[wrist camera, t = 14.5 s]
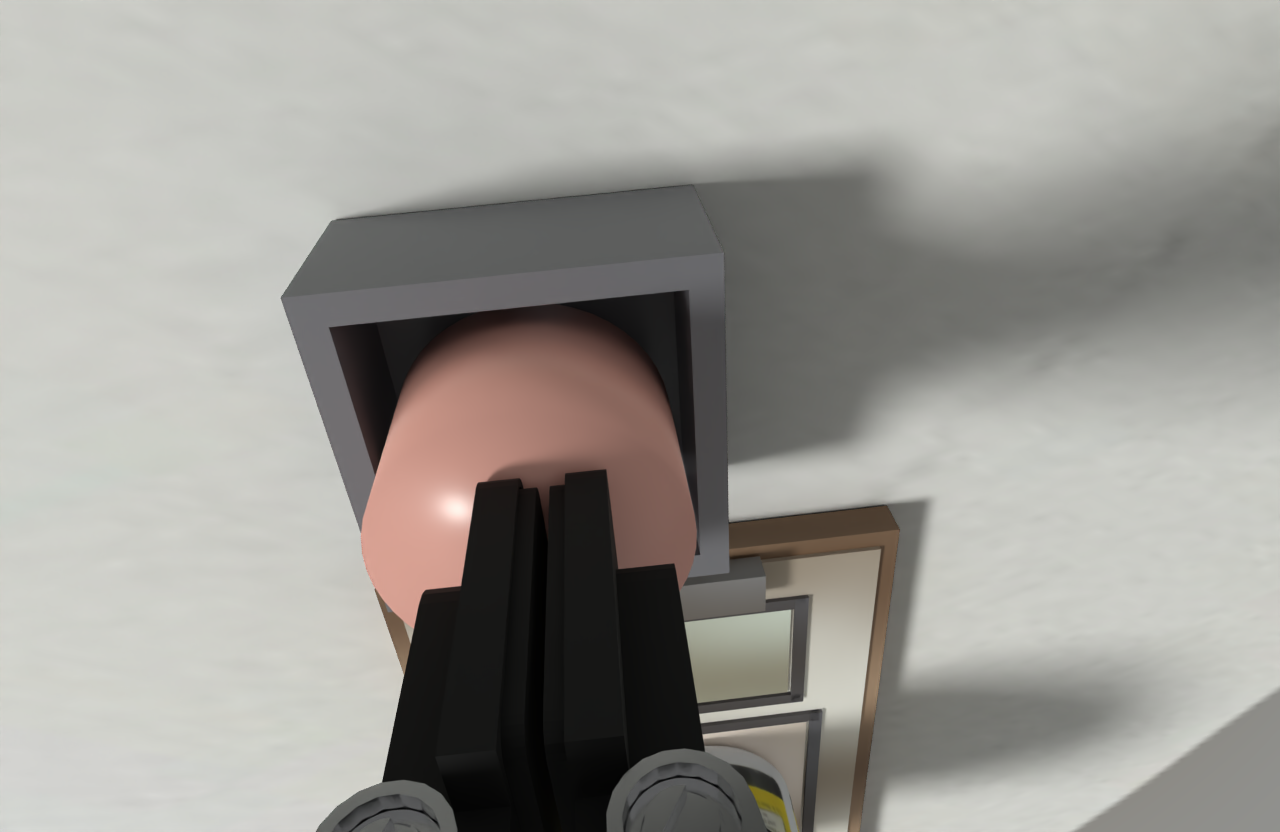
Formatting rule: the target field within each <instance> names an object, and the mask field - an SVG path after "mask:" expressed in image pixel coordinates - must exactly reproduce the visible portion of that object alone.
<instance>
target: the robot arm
mask: <svg viewBox="0 0 1280 832" xmlns="http://www.w3.org/2000/svg"><path fill="white" fill-rule="evenodd" d="M316 832H771V831H770V830H769V829H767V828H766V826H765V823H764V820H763V818H762V815H761V812H760V810H759V807H758V804H757V802H756V799H755V797H754V795H753V793H752V791H751V790H750V788H749V786H748V784H747V783H746V781H745V779H744V777H743V776H742V775H740V774H739V773H738V772H737V771H736V770H735V769H734V768H733V767H732V766H731V765H730V764H729V763H728V762H726V761H724V760H722V759H720V758H718V757H716V756H714V755H712V754H709V753H707V752H705V747H704V741H703V734H702V728H701V722H700V716H699V710H698V703H697V697H696V691H695V685H694V678H693V672H692V666H691V660H690V654H689V647H688V641H687V635H686V629H685V623H684V616H683V610H682V604H681V598H680V591H679V585H678V579H677V573H676V568H675V564H674V563H672V564H662V565H653V566H644V567H634V568H625V569H618V562H617V554H616V545H615V537H614V528H613V520H612V511H611V503H610V494H609V486H608V477H607V470H606V469H602V470H593V471H583V472H573V473H565V485H555V486H550V489H549V520H548V540H547V534H546V529H545V523H544V518H543V512H542V506H541V501H540V495H539V491H538V488H537V487H536V488H526V489H524V488H523V484H522V481H521V479H520V478H515V479H506V480H496V481H486V482H478V483H477V486H476V490H475V497H474V503H473V510H472V517H471V523H470V530H469V536H468V543H467V549H466V556H465V563H464V569H463V576H462V582H461V586H456V587H447V588H437V589H428V590H425V591H424V592H423V594H422V596H421V599H420V602H419V606H418V611H417V616H416V621H415V626H414V630H413V635H412V640H411V645H410V650H409V655H408V659H407V664H406V669H405V674H404V679H403V684H402V688H401V693H400V698H399V703H398V708H397V713H396V718H395V722H394V727H393V732H392V737H391V742H390V747H389V751H388V756H387V761H386V766H385V771H384V776H383V780H382V783H379V784H377V785H374V786H371V787H369V788H366V789H364V790H361V791H359V792H357V793H356V794H354V795H353V796H351V797H350V798H348V799H347V800H346V801H344V802H343V803H341V804H340V805H338V806H337V807H336V808H335V809H334V810H333V811H332V812H331V813H330V815H329V816H328V817H327V818H326V819H325V820H324V821H323V822H322V823H321V824H320V825H319V827H318V829H317V830H316Z"/></svg>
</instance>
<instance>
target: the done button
mask: <svg viewBox="0 0 1280 832" xmlns="http://www.w3.org/2000/svg"><path fill="white" fill-rule="evenodd" d="M602 469H606V470H607V477H608V486H609V494H610V503H611V511H612V520H613V528H614V537H615V545H616V554H617V562H618V569H625V568H634V567H644V566H653V565H662V564H672V563H674V564H675V568H676V573H677V579H678V585H679V591H680V590H681V588H682V587H683V585H684V583H685V581H686V580H687V577H688V575H689V572H690V570H691V567H692V564H693V561H694V556H695V551H696V540H697V529H696V521H695V514H694V510H693V505H692V501H691V496H690V492H689V488H688V483H687V479H686V474H685V470H684V465H683V461H682V456H681V452H680V447H679V443H678V438H677V434H676V429H675V425H674V420H673V416H672V411H671V407H670V402H669V398H668V394H667V391H666V388H665V384H664V381H663V379H662V377H661V375H660V373H659V371H658V369H657V367H656V366H655V364H654V363H653V361H652V360H651V358H650V357H649V355H648V354H647V353H646V352H645V351H644V350H643V348H642V347H641V346H640V345H639V344H638V343H637V342H636V341H635V340H634V339H632V338H631V337H630V336H629V335H628V334H626V333H625V332H624V331H623V330H621V329H620V328H618V327H616V326H615V325H613V324H612V323H610V322H608V321H606V320H604V319H602V318H600V317H598V316H596V315H594V314H591V313H588V312H585V311H582V310H579V309H576V308H573V307H568V306H562V305H557V304H548V305H538V306H528V307H519V308H509V309H499V310H490V311H480V312H477V313H475V314H472V315H470V316H468V317H466V318H463V319H461V320H459V321H458V322H456V323H454V324H453V325H451V326H449V327H448V328H446V329H445V330H444V331H442V332H441V333H440V334H439V335H437V336H436V337H435V338H434V339H432V340H431V341H430V343H429V344H428V345H427V346H426V347H425V348H424V349H423V350H422V351H421V352H420V354H419V355H418V357H417V358H416V359H415V361H414V362H413V364H412V365H411V367H410V369H409V371H408V373H407V376H406V378H405V380H404V383H403V386H402V389H401V393H400V396H399V399H398V403H397V406H396V409H395V413H394V416H393V419H392V423H391V426H390V429H389V433H388V436H387V439H386V443H385V446H384V449H383V453H382V456H381V459H380V463H379V466H378V469H377V473H376V476H375V479H374V483H373V486H372V489H371V493H370V496H369V499H368V503H367V506H366V510H365V513H364V516H363V521H362V531H361V544H362V554H363V558H364V562H365V566H366V570H367V572H368V574H369V576H370V579H371V581H372V583H373V585H374V587H375V588H376V590H377V591H378V593H379V595H380V596H381V598H382V599H383V600H384V602H385V603H386V604H387V605H388V606H389V607H390V608H391V610H392V611H393V612H394V613H395V614H396V615H397V616H399V617H400V618H401V619H402V620H403V621H404V622H405V623H406V624H408V625H409V626H410V627H412V628H413V629H414V626H415V621H416V616H417V611H418V606H419V602H420V599H421V596H422V594H423V592H424V591H425V590H428V589H437V588H447V587H456V586H461V582H462V576H463V569H464V563H465V556H466V549H467V543H468V536H469V530H470V523H471V517H472V510H473V503H474V497H475V490H476V486H477V483H478V482H486V481H496V480H506V479H515V478H520V479H521V481H522V484H523V488H524V489H526V488H536V487H537V488H538V491H539V495H540V501H541V506H542V512H543V518H544V523H545V529H546V534H547V540H548V520H549V489H550V486H555V485H565V473H573V472H583V471H593V470H602Z"/></svg>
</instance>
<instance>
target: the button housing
mask: <svg viewBox="0 0 1280 832" xmlns="http://www.w3.org/2000/svg"><path fill="white" fill-rule="evenodd" d="M281 300H282V303H283V306H284V309H285V312H286V315H287V318H288V321H289V324H290V327H291V330H292V332H293V335H294V338H295V341H296V344H297V347H298V350H299V353H300V356H301V359H302V362H303V365H304V368H305V371H306V374H307V376H308V379H309V382H310V385H311V388H312V391H313V394H314V397H315V400H316V403H317V406H318V409H319V412H320V415H321V417H322V420H323V423H324V426H325V429H326V432H327V435H328V438H329V441H330V444H331V447H332V450H333V453H334V456H335V458H336V461H337V464H338V467H339V470H340V473H341V476H342V479H343V482H344V485H345V488H346V491H347V494H348V497H349V499H350V502H351V505H352V508H353V511H354V514H355V517H356V520H357V523H358V526H359V529H360V532H361V531H362V521H363V516H364V513H365V510H366V506H367V503H368V499H369V496H370V493H371V489H372V486H373V483H374V479H375V476H376V473H377V469H378V466H379V463H380V459H381V456H382V453H383V449H384V446H385V443H386V439H387V436H388V433H389V429H390V426H391V423H392V419H393V416H394V413H395V409H396V406H397V403H398V399H399V396H400V393H401V389H402V386H403V383H404V380H405V378H406V376H407V373H408V371H409V369H410V367H411V365H412V364H413V362H414V361H415V359H416V358H417V357H418V355H419V354H420V352H421V351H422V350H423V349H424V348H425V347H426V346H427V345H428V344H429V343H430V341H431V340H432V339H434V338H435V337H436V336H437V335H439V334H440V333H441V332H442V331H444V330H445V329H446V328H448V327H449V326H451V325H453V324H454V323H456V322H458V321H459V320H461V319H463V318H466V317H468V316H470V315H472V314H475V313H477V312H480V311H490V310H499V309H509V308H519V307H528V306H538V305H548V304H557V305H562V306H568V307H573V308H576V309H579V310H582V311H585V312H588V313H591V314H594V315H596V316H598V317H600V318H602V319H604V320H606V321H608V322H610V323H612V324H613V325H615V326H616V327H618V328H620V329H621V330H623V331H624V332H625V333H626V334H628V335H629V336H630V337H631V338H632V339H634V340H635V341H636V342H637V343H638V344H639V345H640V346H641V347H642V348H643V350H644V351H645V352H646V353H647V354H648V355H649V357H650V358H651V360H652V361H653V363H654V364H655V366H656V367H657V369H658V371H659V373H660V375H661V377H662V379H663V381H664V384H665V388H666V391H667V394H668V398H669V402H670V407H671V411H672V416H673V420H674V425H675V429H676V434H677V438H678V443H679V447H680V452H681V456H682V461H683V465H684V470H685V474H686V479H687V483H688V488H689V492H690V496H691V501H692V505H693V510H694V514H695V521H696V529H697V540H696V551H695V556H694V561H693V564H692V567H691V570H690V572H689V575H688V577H687V578H689V577H698V576H707V575H715V574H724V573H729V517H728V458H727V399H726V340H725V280H724V251H723V249H722V247H721V245H720V243H719V240H718V238H717V236H716V234H715V232H714V230H713V227H712V225H711V223H710V221H709V219H708V217H707V214H706V212H705V210H704V208H703V206H702V203H701V201H700V199H699V197H698V195H697V193H696V190H695V188H694V186H693V185H687V186H677V187H667V188H657V189H646V190H636V191H626V192H616V193H606V194H596V195H586V196H576V197H566V198H556V199H546V200H536V201H526V202H516V203H506V204H496V205H486V206H476V207H465V208H455V209H445V210H435V211H425V212H415V213H405V214H395V215H385V216H375V217H365V218H355V219H345V220H335V221H331V222H330V224H329V225H328V227H327V228H326V230H325V231H324V233H323V234H322V236H321V237H320V239H319V240H318V242H317V243H316V245H315V246H314V248H313V249H312V251H311V252H310V254H309V255H308V257H307V259H306V260H305V262H304V263H303V265H302V266H301V268H300V269H299V271H298V272H297V274H296V275H295V277H294V278H293V280H292V281H291V283H290V284H289V286H288V287H287V289H286V290H285V292H284V294H283V295H282V297H281ZM385 605H386V608H387V611H388V612H393V611H392V610H391V608H390V607H389V606H388V605H387V604H386V603H385Z"/></svg>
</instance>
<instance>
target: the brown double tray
mask: <svg viewBox="0 0 1280 832" xmlns="http://www.w3.org/2000/svg"><path fill="white" fill-rule="evenodd" d="M899 532H900V529H899V527H898V525H897V524H896V522H895V520H894V518H893V516H892V514H891V512H890V510H889V509H888V507H887V506H879V507H870V508H862V509H853V510H844V511H835V512H826V513H818V514H809V515H800V516H791V517H782V518H774V519H765V520H756V521H747V522H739V523H730V524H729V573H724V574H715V575H707V576H698V577H689V578H687V580H686V581H685V583H684V585H683V587H682V588H681V590H680V598H681V604H682V610H683V616H684V623H685V629H686V635H687V641H688V647H689V654H690V660H691V666H692V672H693V678H694V685H695V691H696V697H697V703H698V710H699V716H700V722H701V728H702V734H703V741H704V746H728V747H734V748H739V749H742V750H745V751H748V752H751V753H754V754H756V755H758V756H759V757H761V758H763V759H764V760H766V761H767V762H769V763H770V764H771V765H772V766H774V767H775V768H776V769H777V770H778V771H779V772H780V774H781V775H782V777H783V778H784V780H785V782H786V785H787V788H788V791H789V794H790V797H791V801H792V805H793V810H794V814H795V818H796V821H797V825H798V829H799V832H859V831H860V824H861V816H862V809H863V801H864V794H865V786H866V779H867V772H868V764H869V757H870V749H871V742H872V734H873V727H874V719H875V712H876V704H877V697H878V689H879V682H880V674H881V667H882V659H883V652H884V644H885V637H886V629H887V622H888V614H889V607H890V599H891V592H892V584H893V577H894V569H895V562H896V554H897V547H898V539H899ZM375 592H376V595H377V598H378V601H379V604H380V607H381V609H382V612H383V615H384V618H385V621H386V624H387V627H388V630H389V633H390V635H391V638H392V641H393V644H394V647H395V650H396V653H397V656H398V659H399V661H400V664H401V667H402V670H403V673H404V674H405V669H406V664H407V659H408V655H409V650H410V645H411V640H412V635H413V630H414V629H413V628H412V627H410V626H409V625H408V624H406V623H405V622H404V621H403V620H402V619H401V618H400V617H399V616H397V615H396V614H395V613H394V612H388V611H387V608H386V605H385V602H384V600H383V599H382V598H381V596H380V595H379V593H378V591H377V590H376V588H375Z"/></svg>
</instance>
